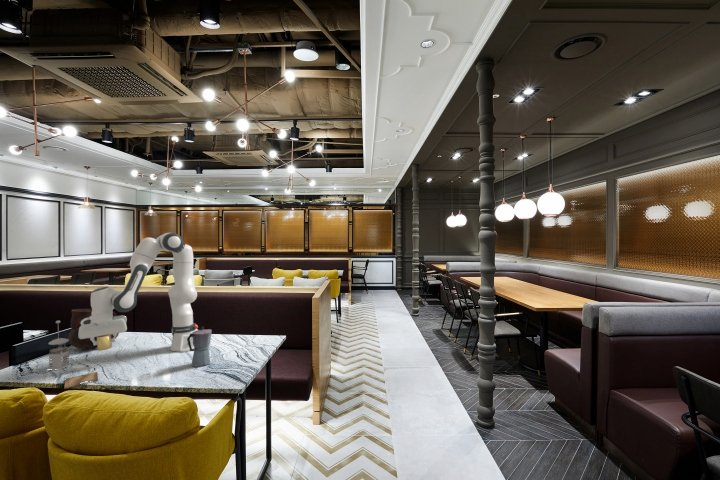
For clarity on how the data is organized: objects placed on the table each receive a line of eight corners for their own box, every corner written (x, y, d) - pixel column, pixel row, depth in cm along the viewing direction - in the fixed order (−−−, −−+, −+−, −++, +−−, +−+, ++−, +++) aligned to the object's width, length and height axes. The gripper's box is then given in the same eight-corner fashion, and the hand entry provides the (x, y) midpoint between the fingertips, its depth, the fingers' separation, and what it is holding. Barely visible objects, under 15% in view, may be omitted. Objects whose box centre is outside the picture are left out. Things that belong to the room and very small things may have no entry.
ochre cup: (112, 345, 178) (111, 332, 178) (110, 348, 173) (109, 335, 172) (98, 347, 175) (97, 334, 175) (96, 351, 170) (95, 337, 169)
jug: (124, 345, 206) (123, 306, 205) (71, 357, 187) (70, 314, 186) (114, 337, 222) (113, 301, 222) (65, 347, 203) (64, 308, 203)
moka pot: (218, 360, 180) (217, 324, 180) (196, 371, 166) (195, 332, 165) (204, 358, 183) (204, 322, 183) (181, 368, 169) (181, 330, 169)
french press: (43, 372, 166) (41, 323, 166) (51, 364, 176) (50, 318, 176) (68, 368, 171) (67, 321, 170) (75, 361, 181) (74, 316, 181)
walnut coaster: (97, 372, 165) (97, 371, 165) (98, 380, 156) (98, 379, 156) (65, 379, 157) (65, 378, 157) (64, 388, 148) (64, 387, 148)
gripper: (127, 313, 181) (128, 337, 182) (79, 319, 171) (81, 345, 171) (125, 315, 176) (127, 341, 176) (76, 322, 165) (78, 349, 166)
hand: (104, 343), depth 174 cm, fingers closed on ochre cup, 6 cm apart
